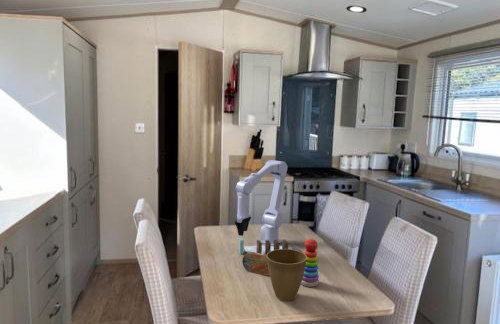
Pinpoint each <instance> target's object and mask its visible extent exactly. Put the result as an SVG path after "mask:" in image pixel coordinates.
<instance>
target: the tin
mask: <svg viewBox="0 0 500 324" xmlns="http://www.w3.org/2000/svg"><path fill="white" fill-rule="evenodd" d="M241 261H242V262H241V263H242V266H243V268H244V269H245V270H246V271H247V272H249V273H252V274H257V275H262V276H270V275H269V270H268V264H267V255H265V253H262V254H260V253H256V252H254V251H250V252H247V253H245V254H243V257H242V260H241Z"/></svg>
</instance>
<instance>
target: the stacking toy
mask: <svg viewBox="0 0 500 324" xmlns="http://www.w3.org/2000/svg"><path fill="white" fill-rule="evenodd" d="M304 247H305V250H304V252H303V253H304V254H305V255H306V256H307V260H306V266H305V270H304V275H303V278H302V282H301V285H302V286H305V287H309V288H312V287H316V286H318V285H319V282H320V280H319V278H320V277H319V276H320V275H319V266H318V264H319V263H318V256H317V255H318V252H317V249H318V242H317V240H315V239H314V238H308V239H306V241H305V242H304Z"/></svg>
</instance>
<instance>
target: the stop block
mask: <svg viewBox="0 0 500 324" xmlns="http://www.w3.org/2000/svg"><path fill="white" fill-rule="evenodd" d="M291 249H292V250H297V251H300V252H302V253H303V250H302V249H301V248H300V246H296V245H295V246H291Z"/></svg>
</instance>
